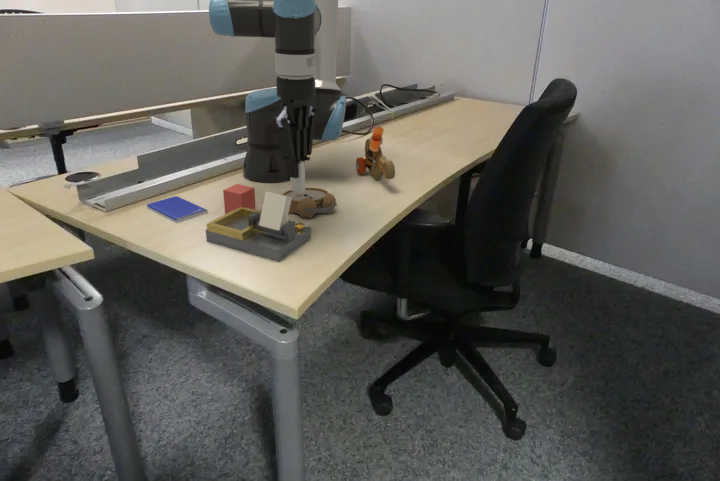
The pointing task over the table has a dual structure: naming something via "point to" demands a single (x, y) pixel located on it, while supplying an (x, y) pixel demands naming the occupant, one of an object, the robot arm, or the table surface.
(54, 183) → the table surface
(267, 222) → the toggle
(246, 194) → the red toy cube
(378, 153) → the wheeled toy
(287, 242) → the panel
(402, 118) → the table surface
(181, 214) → the blue book
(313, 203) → the alarm clock
